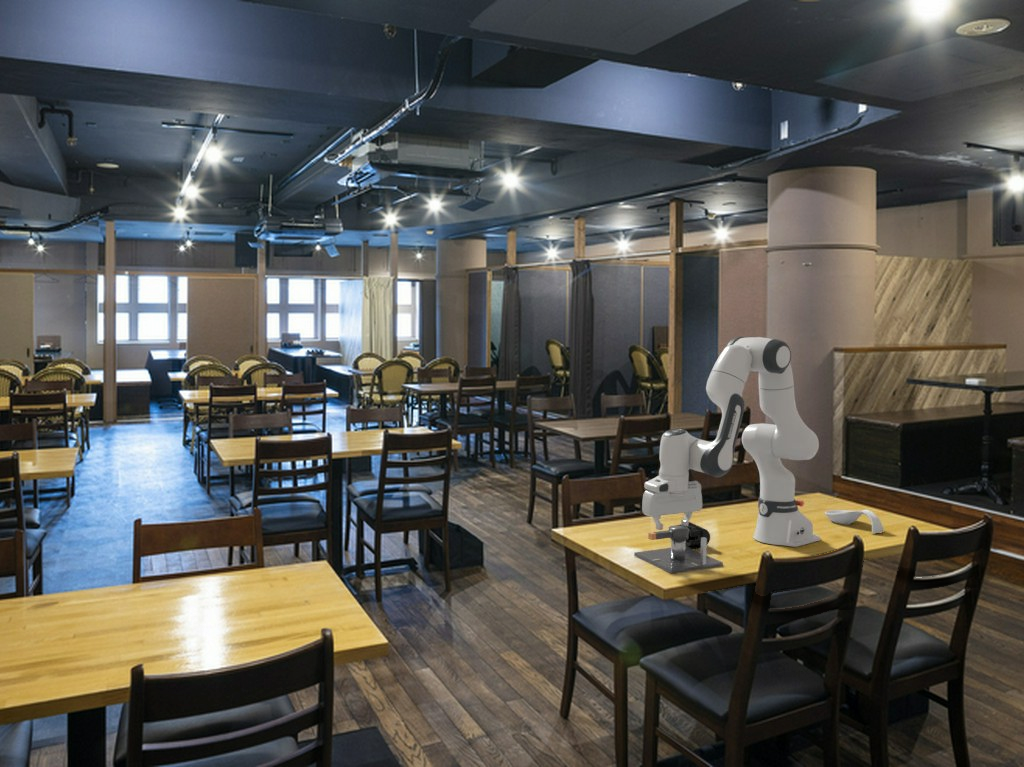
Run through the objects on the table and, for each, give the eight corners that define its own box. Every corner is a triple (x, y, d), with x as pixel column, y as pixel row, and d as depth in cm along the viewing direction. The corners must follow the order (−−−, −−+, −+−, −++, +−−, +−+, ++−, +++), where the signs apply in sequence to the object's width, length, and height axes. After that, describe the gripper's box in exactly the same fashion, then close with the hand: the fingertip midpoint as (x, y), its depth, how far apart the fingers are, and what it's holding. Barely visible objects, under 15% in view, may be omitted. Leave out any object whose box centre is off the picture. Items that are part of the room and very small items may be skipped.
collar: (680, 534, 249) (680, 524, 249) (692, 539, 244) (692, 529, 243) (644, 538, 243) (644, 529, 243) (655, 543, 238) (656, 534, 238)
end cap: (710, 548, 259) (710, 528, 259) (691, 550, 257) (691, 529, 257) (693, 540, 269) (694, 520, 268) (675, 542, 267) (675, 522, 266)
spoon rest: (817, 520, 299) (818, 501, 299) (842, 517, 303) (843, 499, 303) (866, 536, 277) (867, 516, 277) (892, 533, 281) (893, 513, 281)
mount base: (683, 548, 258) (684, 521, 258) (722, 565, 241) (723, 536, 240) (634, 555, 250) (635, 527, 249) (671, 573, 233) (672, 543, 232)
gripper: (694, 478, 250) (693, 521, 251) (639, 483, 241) (638, 528, 242) (707, 482, 244) (706, 526, 245) (652, 487, 236) (650, 533, 237)
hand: (672, 527), depth 244 cm, fingers open, 8 cm apart
